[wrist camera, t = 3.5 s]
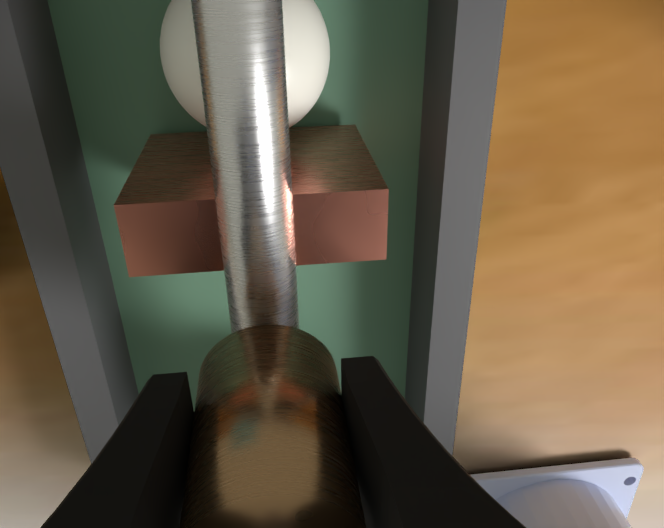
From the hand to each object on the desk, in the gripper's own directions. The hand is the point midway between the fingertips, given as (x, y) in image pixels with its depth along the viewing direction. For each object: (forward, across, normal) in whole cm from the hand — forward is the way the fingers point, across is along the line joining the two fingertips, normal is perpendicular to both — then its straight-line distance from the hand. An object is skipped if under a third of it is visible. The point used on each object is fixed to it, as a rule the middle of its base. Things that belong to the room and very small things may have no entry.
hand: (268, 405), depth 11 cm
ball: (+5, 0, -6) cm, 7 cm away
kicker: (+6, 0, -5) cm, 8 cm away
